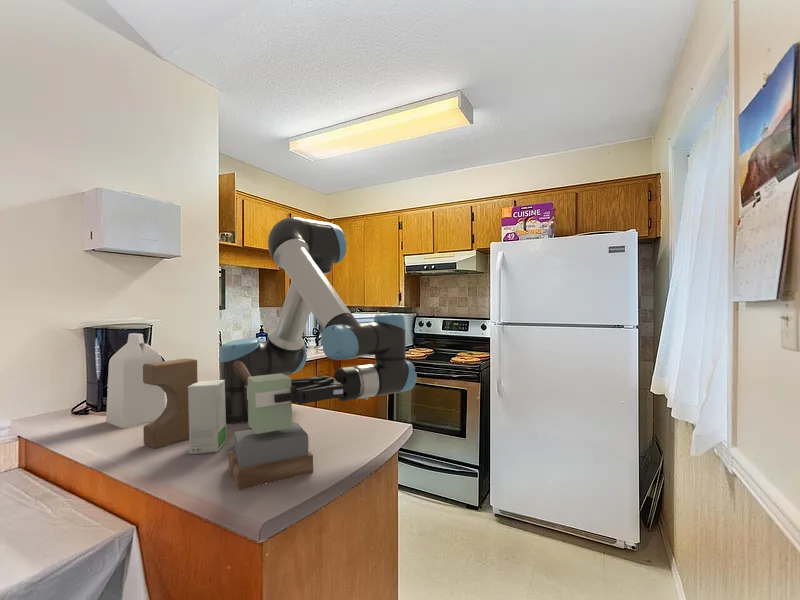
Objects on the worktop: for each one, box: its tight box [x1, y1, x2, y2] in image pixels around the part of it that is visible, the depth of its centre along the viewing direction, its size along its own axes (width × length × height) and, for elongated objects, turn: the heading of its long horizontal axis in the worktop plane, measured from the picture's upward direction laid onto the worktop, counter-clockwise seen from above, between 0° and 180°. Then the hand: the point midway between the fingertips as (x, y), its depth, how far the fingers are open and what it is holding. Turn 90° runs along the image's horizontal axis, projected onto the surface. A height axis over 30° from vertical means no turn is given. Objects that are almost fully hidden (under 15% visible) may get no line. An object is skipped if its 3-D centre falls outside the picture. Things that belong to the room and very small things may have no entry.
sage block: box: [247, 373, 293, 434], centre depth 81 cm, size 7×7×10 cm
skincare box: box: [188, 379, 227, 455], centre depth 95 cm, size 8×7×16 cm
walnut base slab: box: [228, 450, 314, 491], centre depth 81 cm, size 12×14×4 cm
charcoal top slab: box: [233, 422, 309, 468], centre depth 82 cm, size 10×13×4 cm
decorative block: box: [142, 358, 199, 449], centre depth 101 cm, size 11×6×20 cm, turn 145°
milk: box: [105, 333, 166, 429], centre depth 120 cm, size 12×12×26 cm
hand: (251, 396), depth 80 cm, fingers closed on sage block, 7 cm apart
